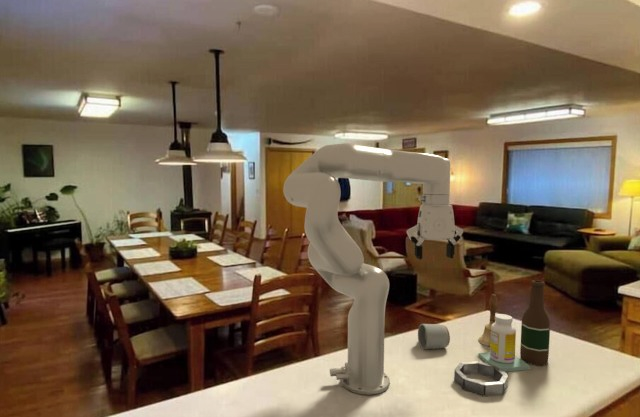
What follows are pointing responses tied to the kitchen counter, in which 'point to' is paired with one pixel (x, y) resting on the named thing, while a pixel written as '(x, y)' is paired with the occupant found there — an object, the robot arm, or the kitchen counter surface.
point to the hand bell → (486, 336)
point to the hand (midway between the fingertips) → (434, 257)
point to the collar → (478, 386)
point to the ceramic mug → (433, 336)
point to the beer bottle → (535, 328)
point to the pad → (513, 366)
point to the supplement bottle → (503, 339)
